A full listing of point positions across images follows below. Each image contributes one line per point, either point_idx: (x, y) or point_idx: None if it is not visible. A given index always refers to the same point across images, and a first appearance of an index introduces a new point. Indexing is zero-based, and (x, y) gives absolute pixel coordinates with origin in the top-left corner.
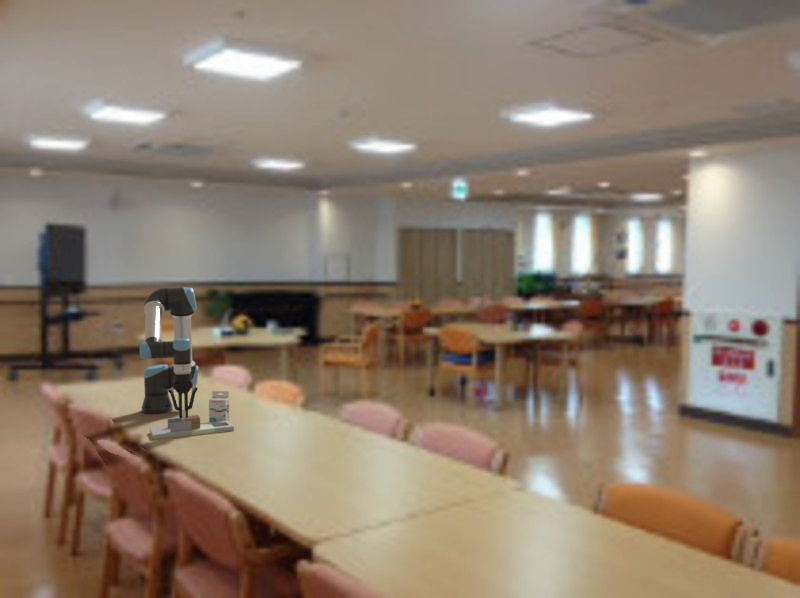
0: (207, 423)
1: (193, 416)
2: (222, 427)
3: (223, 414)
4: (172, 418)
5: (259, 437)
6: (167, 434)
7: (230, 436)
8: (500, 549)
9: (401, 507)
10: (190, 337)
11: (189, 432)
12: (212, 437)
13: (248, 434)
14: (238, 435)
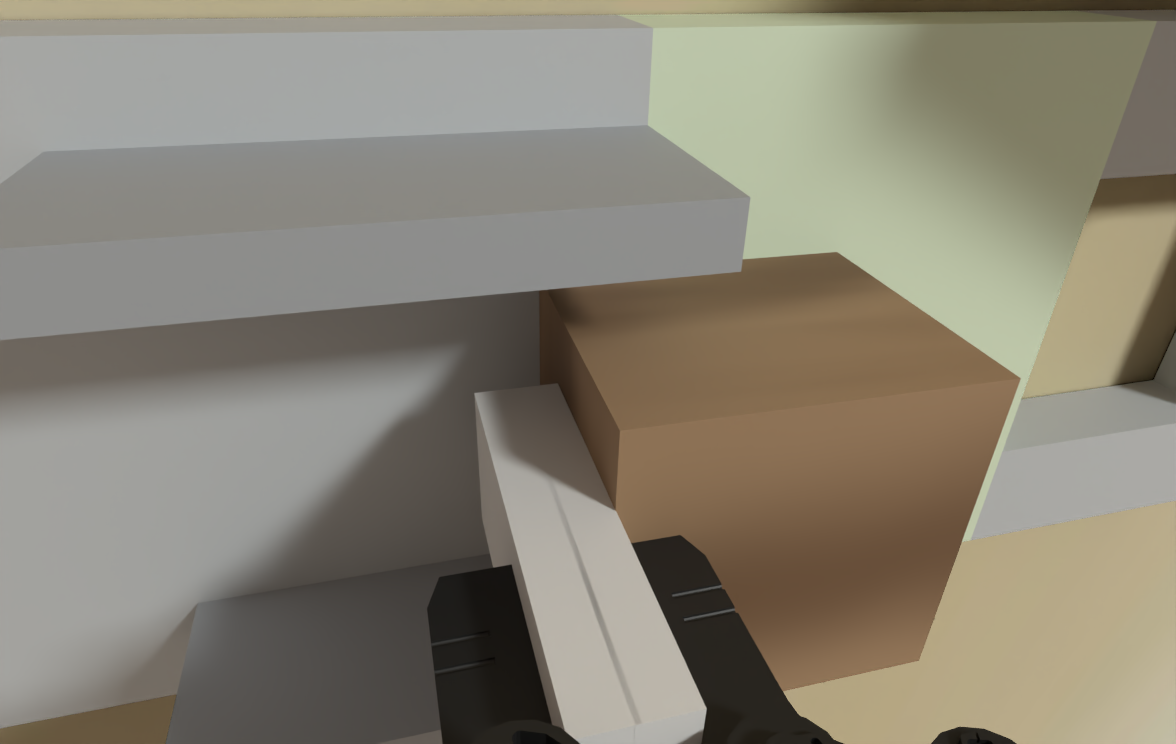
0: (1059, 135)
1: (836, 546)
2: (1072, 519)
3: None
4: (156, 288)
5: (1137, 735)
6: (153, 681)
7: (975, 677)
8: None
9: None
10: None
11: None
12: (804, 686)
13: (1144, 638)
14: (1055, 655)
